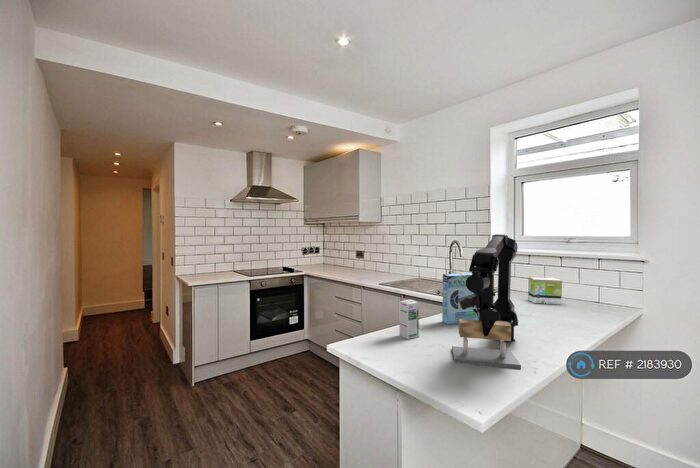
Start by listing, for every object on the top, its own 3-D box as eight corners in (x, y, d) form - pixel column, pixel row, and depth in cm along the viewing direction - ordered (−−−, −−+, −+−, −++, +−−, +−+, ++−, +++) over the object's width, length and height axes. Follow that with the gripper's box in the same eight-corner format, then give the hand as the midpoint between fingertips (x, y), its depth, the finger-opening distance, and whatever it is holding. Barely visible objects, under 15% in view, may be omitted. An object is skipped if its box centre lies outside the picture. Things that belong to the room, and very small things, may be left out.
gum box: (476, 318, 158) (477, 272, 158) (483, 321, 153) (484, 274, 153) (441, 321, 153) (442, 273, 152) (447, 324, 148) (448, 275, 148)
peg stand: (510, 354, 113) (510, 336, 113) (520, 368, 102) (521, 349, 102) (451, 349, 118) (451, 332, 118) (455, 362, 106) (455, 344, 106)
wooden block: (507, 336, 110) (507, 321, 110) (511, 340, 106) (511, 325, 105) (458, 332, 114) (458, 318, 113) (460, 337, 109) (460, 322, 109)
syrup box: (407, 339, 128) (407, 303, 128) (398, 335, 133) (399, 300, 133) (418, 337, 131) (419, 301, 130) (409, 333, 136) (410, 299, 136)
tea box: (534, 303, 190) (534, 279, 190) (527, 300, 200) (527, 276, 200) (561, 304, 188) (562, 279, 188) (553, 301, 198) (554, 277, 197)
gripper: (457, 282, 120) (456, 324, 120) (463, 292, 102) (462, 341, 102) (488, 284, 118) (488, 326, 118) (501, 294, 99) (500, 344, 100)
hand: (484, 333), depth 110 cm, fingers closed on wooden block, 5 cm apart
